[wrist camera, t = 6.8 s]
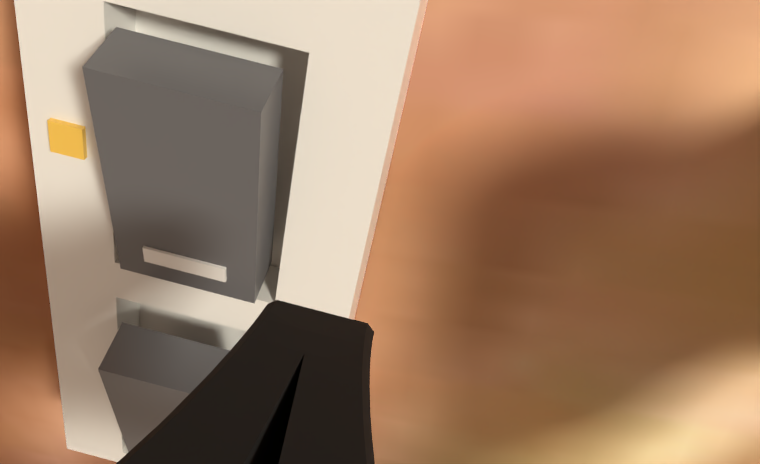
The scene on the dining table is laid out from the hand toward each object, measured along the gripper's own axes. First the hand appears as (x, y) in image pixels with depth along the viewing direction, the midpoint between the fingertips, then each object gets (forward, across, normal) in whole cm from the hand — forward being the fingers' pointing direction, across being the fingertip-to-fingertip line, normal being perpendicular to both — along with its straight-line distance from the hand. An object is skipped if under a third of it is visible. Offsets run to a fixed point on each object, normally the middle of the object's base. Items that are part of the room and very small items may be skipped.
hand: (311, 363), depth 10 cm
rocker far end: (+6, +4, +10) cm, 12 cm away
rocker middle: (+6, +4, +2) cm, 8 cm away
